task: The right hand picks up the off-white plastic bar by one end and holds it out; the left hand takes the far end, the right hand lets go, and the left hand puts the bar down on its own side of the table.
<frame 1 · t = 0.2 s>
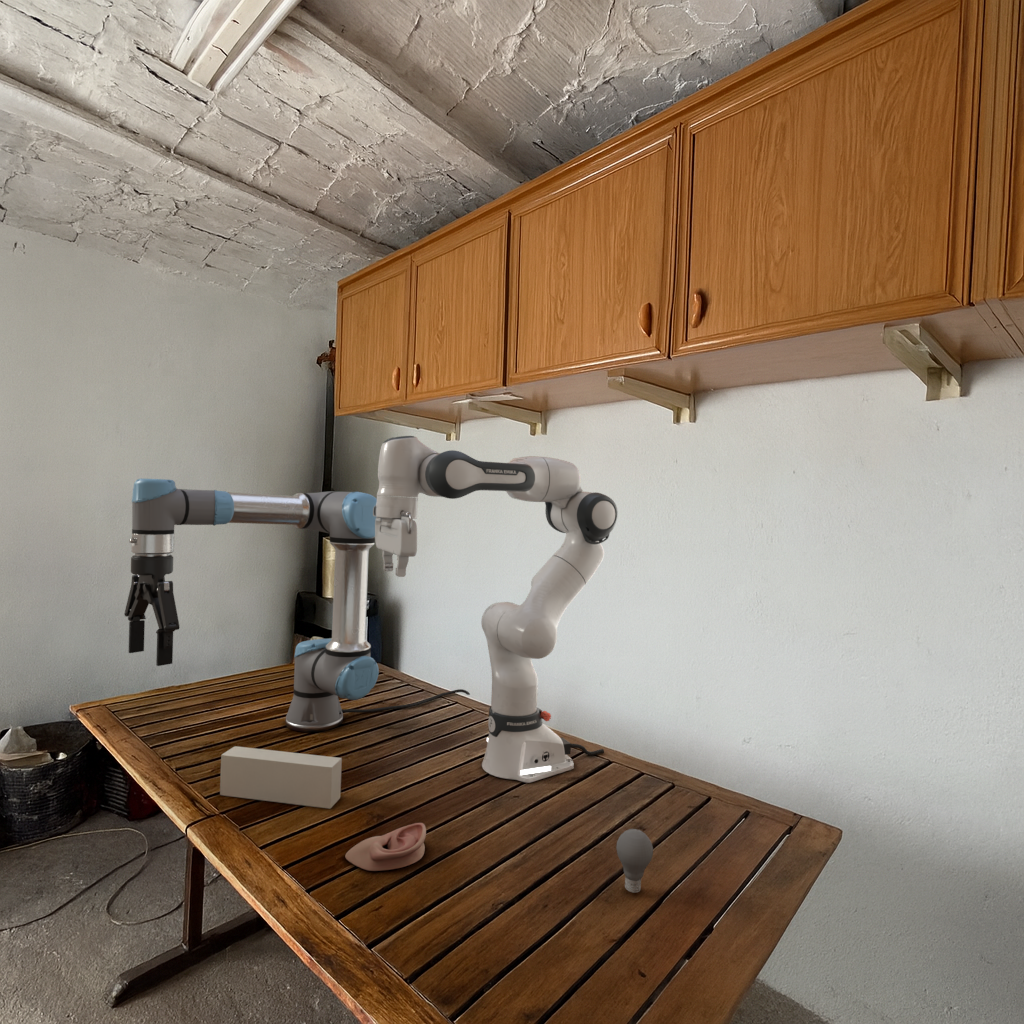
left hand: (149, 658, 129), 29 cm above the table, tool pointing down, fingers open, 13 cm apart
right hand: (394, 573, 138), 47 cm above the table, tool pointing down, fingers open, 8 cm apart
anatomical model: (386, 854, 113), on the table
light bulb: (632, 891, 106), on the table
bar: (280, 796, 133), on the table
fossil: (327, 680, 216), on the table
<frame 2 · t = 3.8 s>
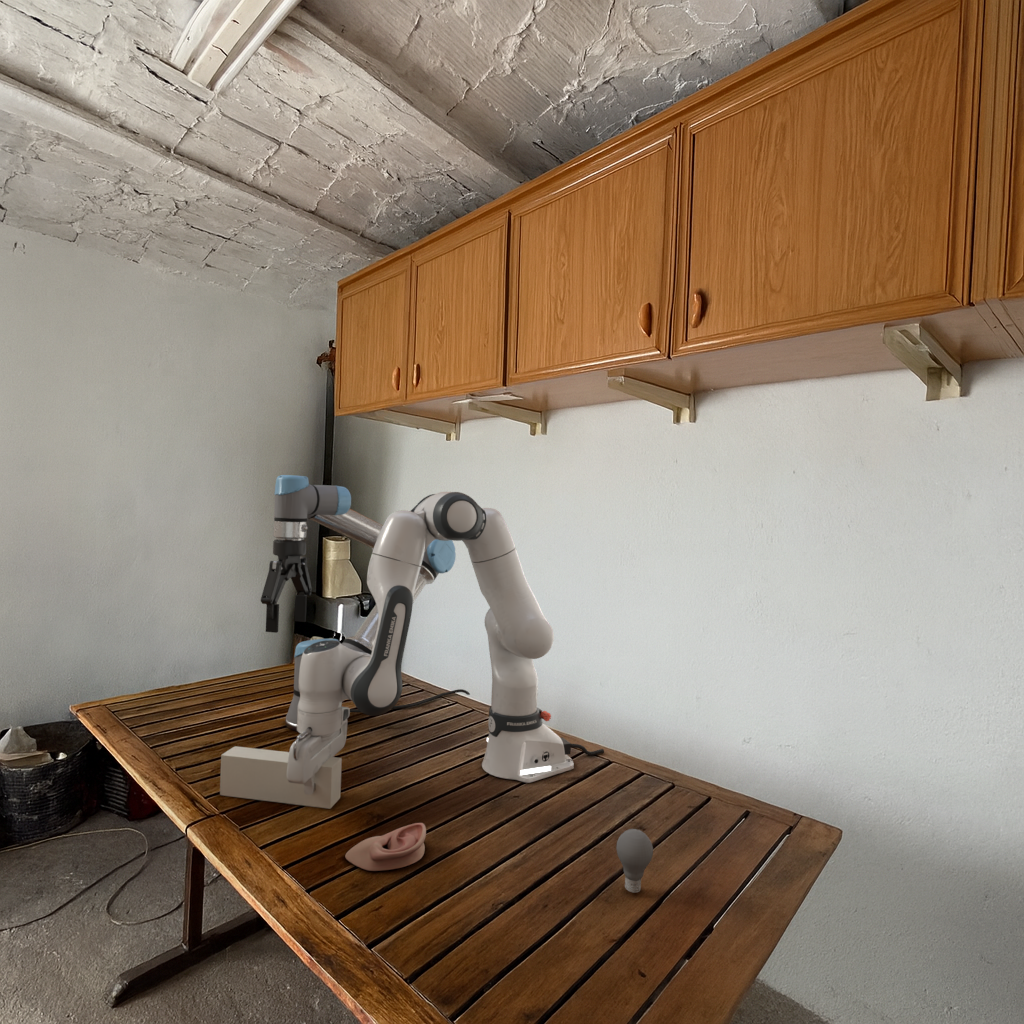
left hand: (286, 626, 153), 31 cm above the table, tool pointing down, fingers open, 13 cm apart
right hand: (317, 786, 132), 3 cm above the table, tool pointing down, fingers closed on bar, 5 cm apart
bar: (280, 796, 133), on the table, touching right hand
everything else where it was.
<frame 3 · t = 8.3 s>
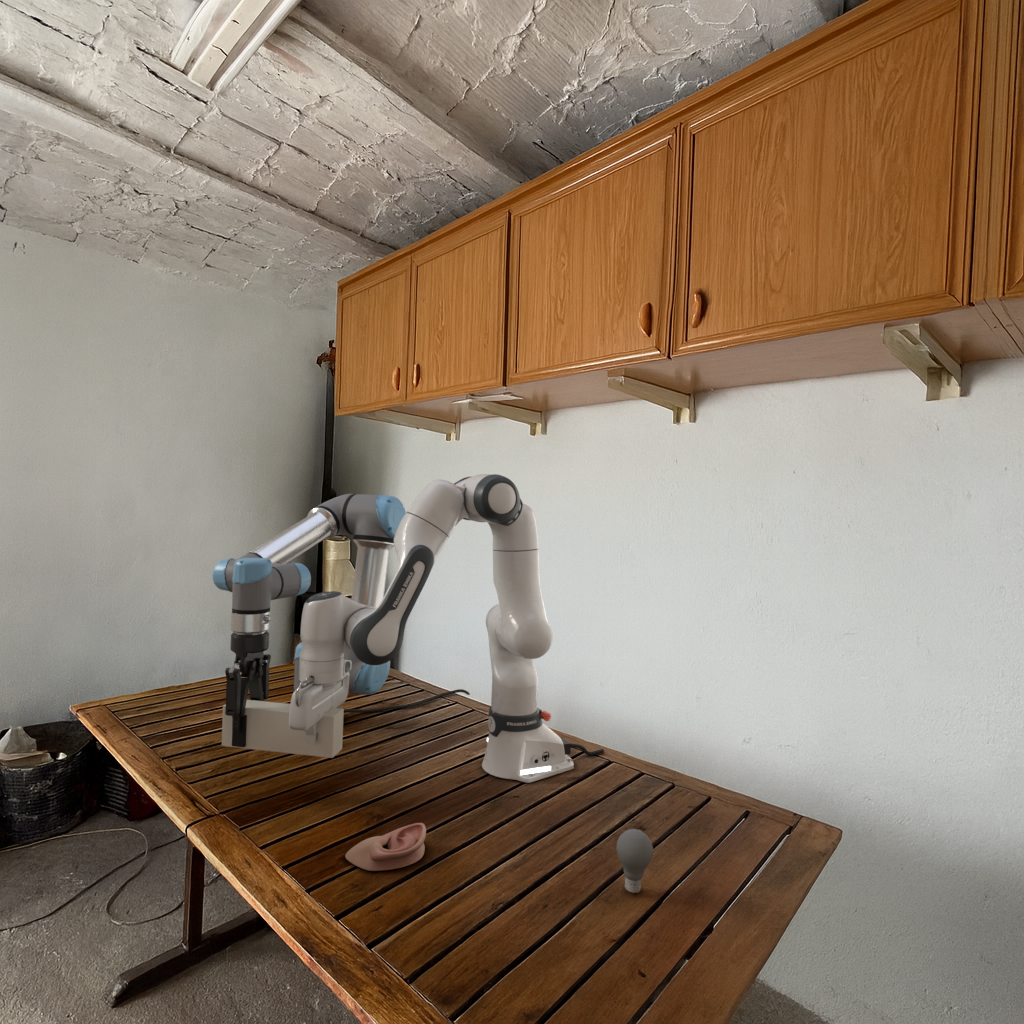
left hand: (246, 740, 134), 11 cm above the table, tool pointing down, fingers closed on bar, 5 cm apart
right hand: (319, 736, 132), 14 cm above the table, tool pointing down, fingers closed on bar, 5 cm apart
bar: (282, 747, 133), point 10 cm above the table, touching left hand, right hand
everything else where it was.
when the right hand's fingers open (14 cm above the table, at t = 9.0 s): bar stays where it is, held by the left hand.
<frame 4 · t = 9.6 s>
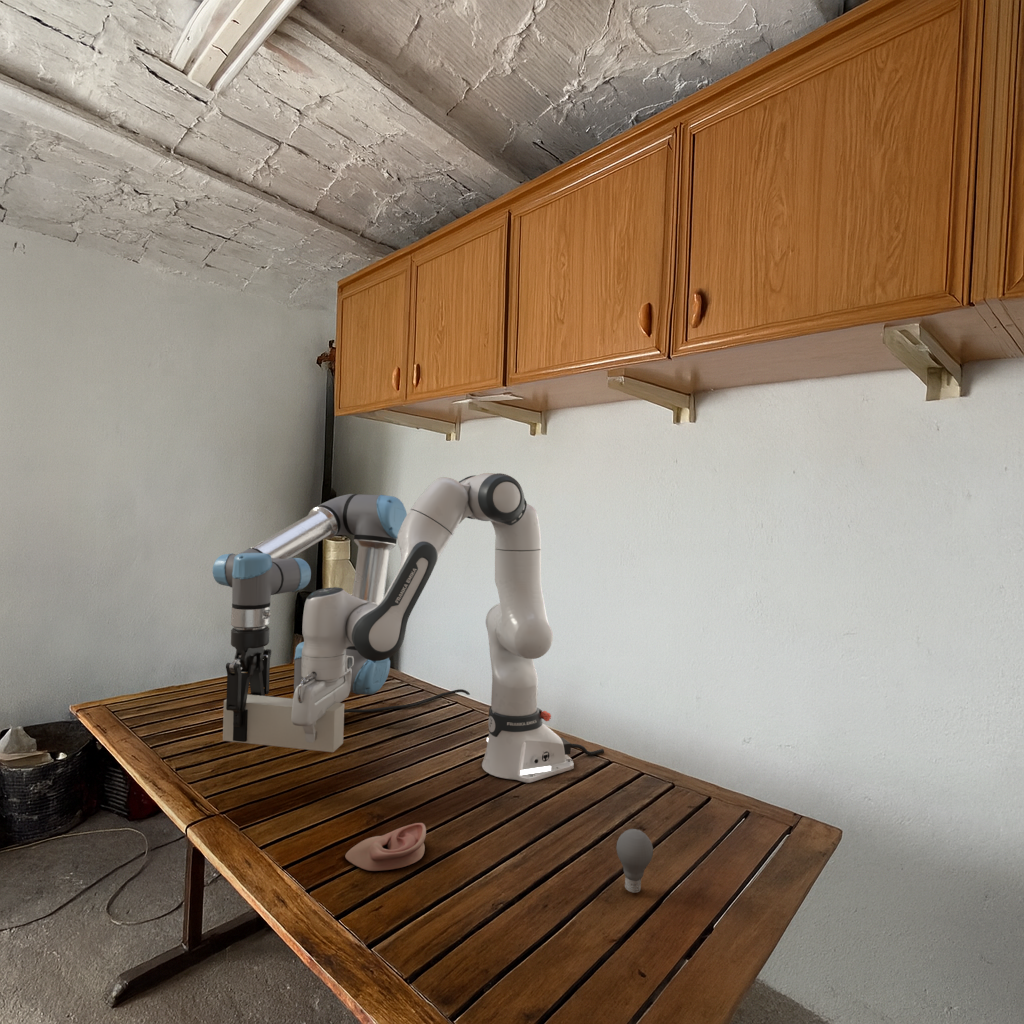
left hand: (247, 735, 134), 12 cm above the table, tool pointing down, fingers closed on bar, 5 cm apart
right hand: (321, 732, 132), 14 cm above the table, tool pointing down, fingers open, 8 cm apart
bar: (283, 742, 133), point 11 cm above the table, touching left hand
everything else where it was.
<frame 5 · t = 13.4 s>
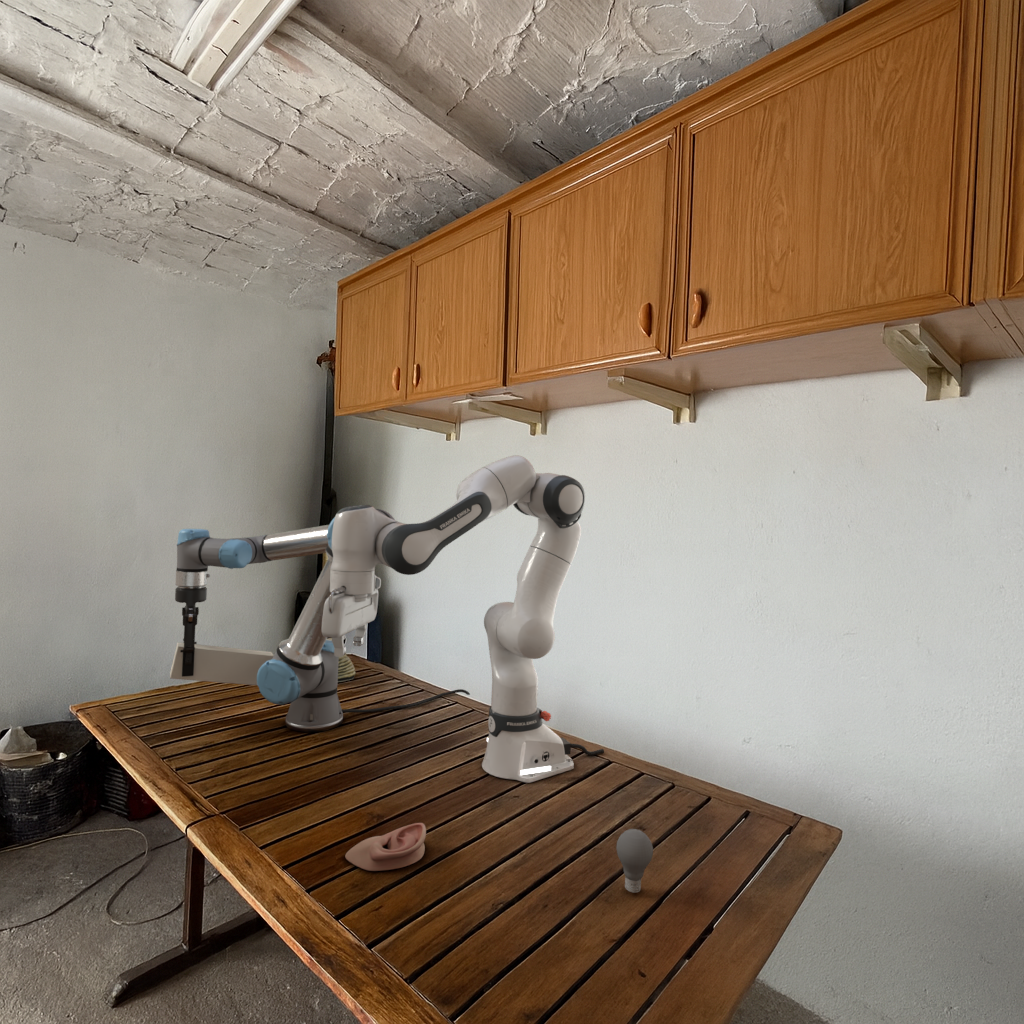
left hand: (187, 672, 170), 14 cm above the table, tool pointing down, fingers closed on bar, 5 cm apart
right hand: (349, 650, 130), 32 cm above the table, tool pointing down, fingers open, 8 cm apart
bar: (219, 680, 174), point 12 cm above the table, tilted 11°, touching left hand
everything else where it was.
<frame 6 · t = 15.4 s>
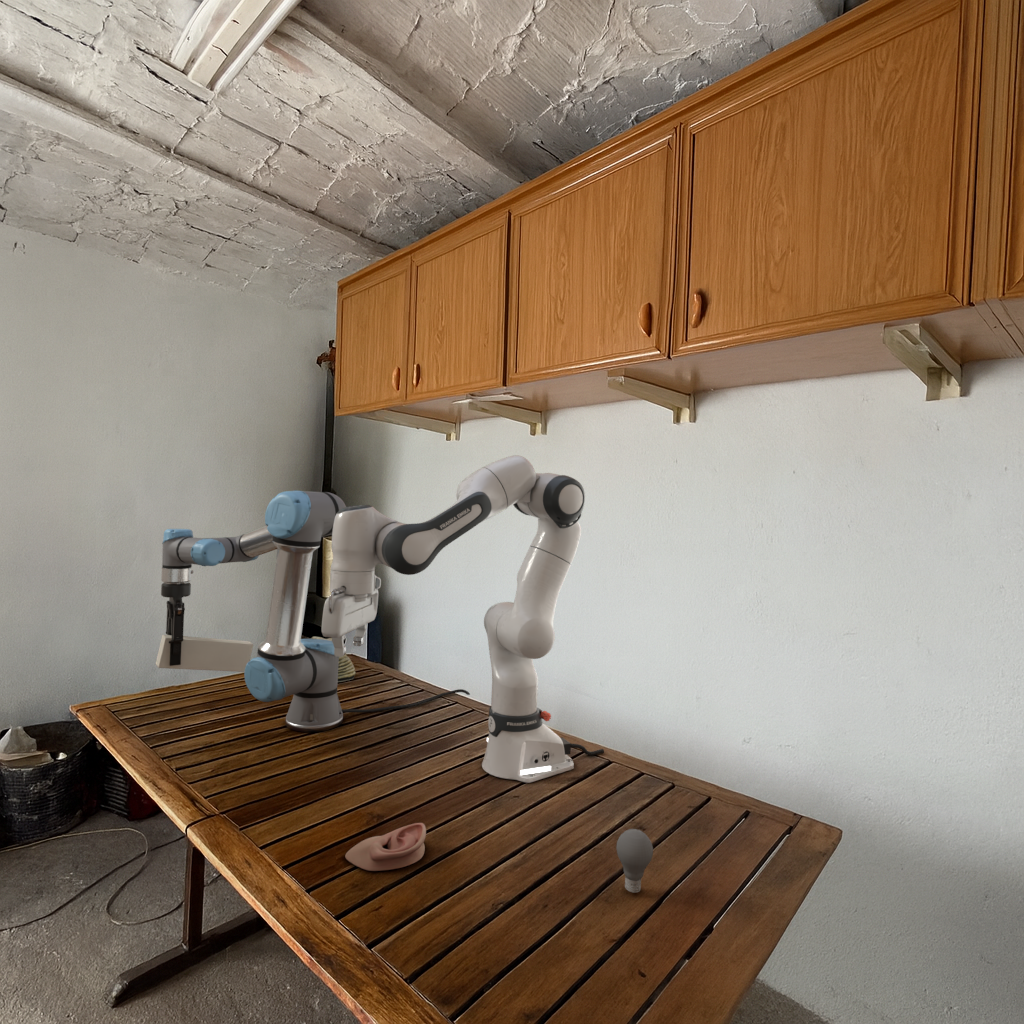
left hand: (173, 662, 183), 13 cm above the table, tool pointing down, fingers closed on bar, 5 cm apart
right hand: (349, 650, 130), 32 cm above the table, tool pointing down, fingers open, 8 cm apart
bar: (202, 668, 188), point 11 cm above the table, tilted 10°, touching left hand
everything else where it was.
when the left hand's fingers open (2 cm above the table, at t = 16.8 s): bar stays where it is, on the table.
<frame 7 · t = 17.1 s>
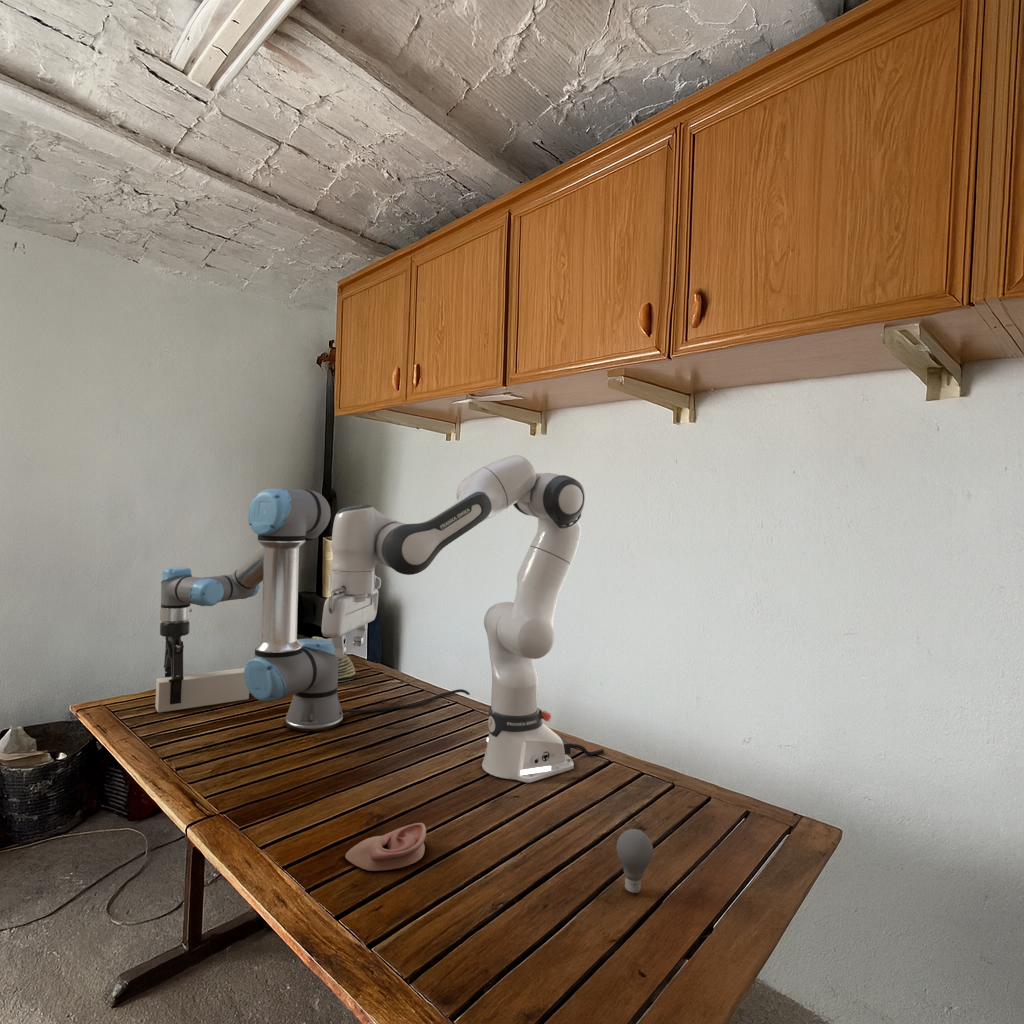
left hand: (172, 698, 183), 3 cm above the table, tool pointing down, fingers open, 9 cm apart
right hand: (349, 650, 130), 32 cm above the table, tool pointing down, fingers open, 8 cm apart
bar: (203, 703, 188), on the table
everything else where it was.
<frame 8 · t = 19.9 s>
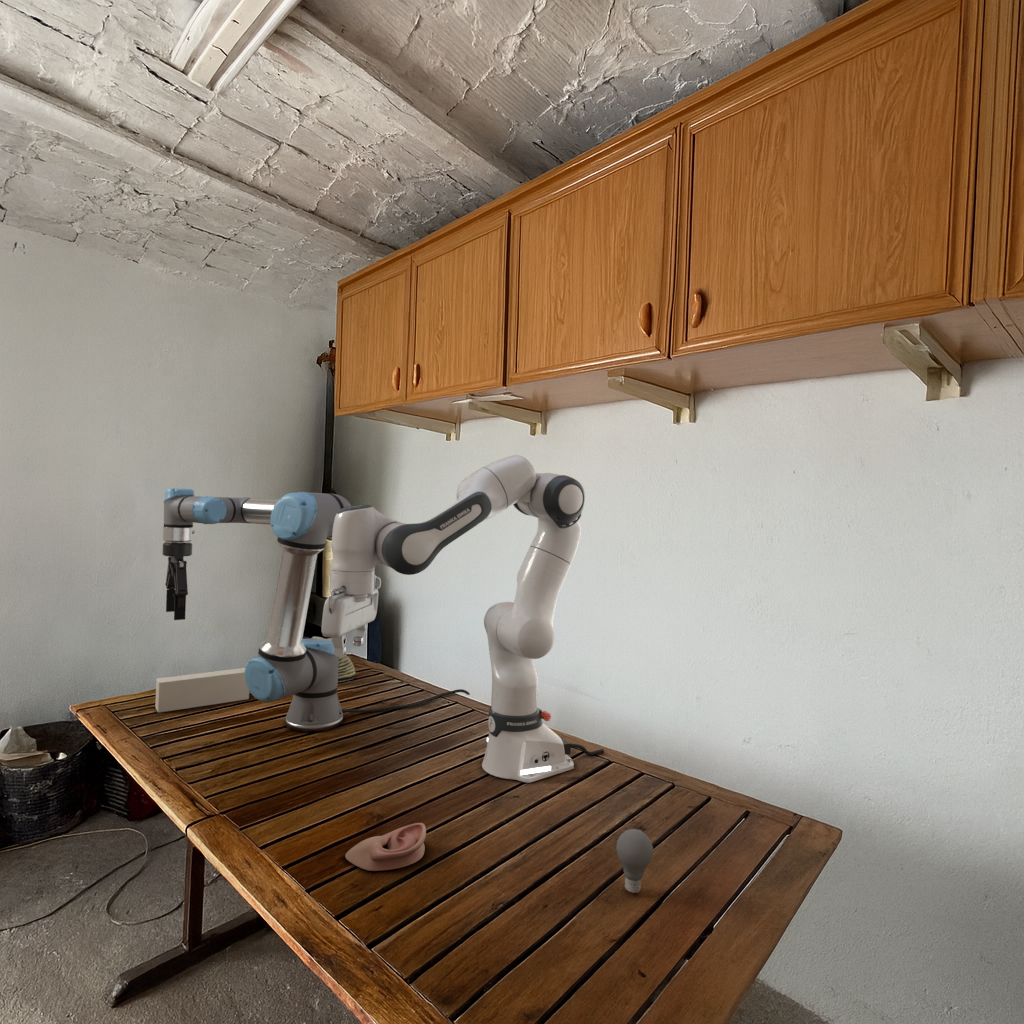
left hand: (175, 615, 183), 27 cm above the table, tool pointing down, fingers open, 13 cm apart
right hand: (349, 650, 130), 32 cm above the table, tool pointing down, fingers open, 8 cm apart
nothing on the table moved.
at the end: bar inside the target area (8.3 cm from its centre), on the table; the left hand is holding nothing; the right hand is holding nothing; bar at rest at the end (0.0 cm/s) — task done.
